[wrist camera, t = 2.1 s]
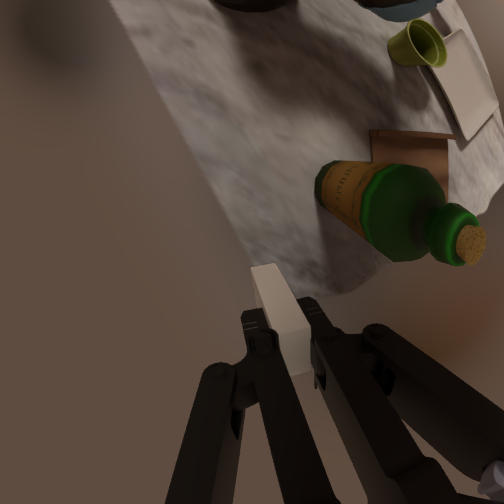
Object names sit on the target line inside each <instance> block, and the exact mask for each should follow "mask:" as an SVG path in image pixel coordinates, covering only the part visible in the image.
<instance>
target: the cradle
mask: <svg viewBox="0 0 504 504" xmlns="http://www.w3.org/2000/svg"><path fill="white" fill-rule="evenodd" d="M369 133H370V143H371V155H372V162H381V163H394V164H406V165H412V166H417V167H422V168H427V169H428V171H429V172H430V173H431V174H432V175H433V177H434V178H435V179H436V180H437V182H438V183H439V184H440V186H441V188H442V189H443V191H444V193H445V198H446V204H448V142H447V139H453V140H456V136H455V135H452V134H443V133H432V132H418V131H397V130H369Z"/></svg>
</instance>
